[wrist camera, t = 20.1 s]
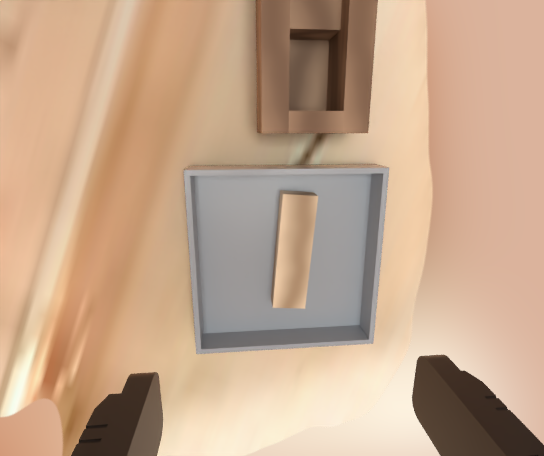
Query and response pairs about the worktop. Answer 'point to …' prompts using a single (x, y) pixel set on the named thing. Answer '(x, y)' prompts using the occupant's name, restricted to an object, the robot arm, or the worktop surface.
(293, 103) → the walnut frame
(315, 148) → the worktop surface
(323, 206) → the slate tray
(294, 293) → the maple bar
